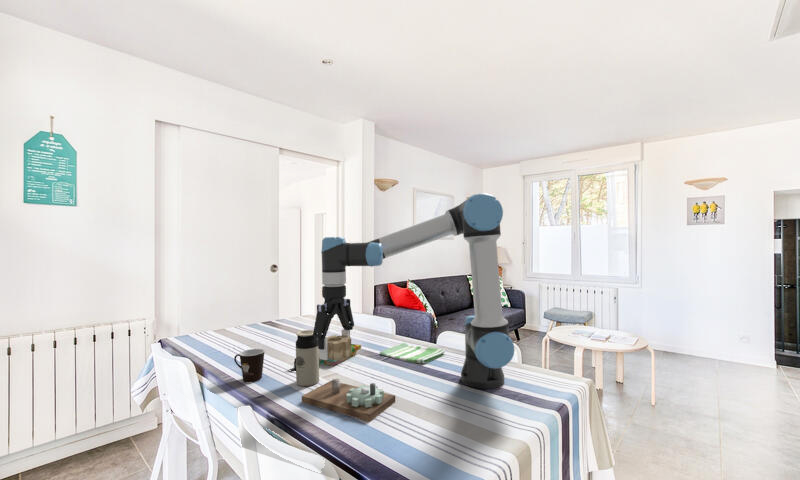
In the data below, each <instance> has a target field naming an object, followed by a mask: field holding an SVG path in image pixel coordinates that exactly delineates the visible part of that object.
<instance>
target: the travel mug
mask: <svg viewBox="0 0 800 480" xmlns="http://www.w3.org/2000/svg"><path fill="white" fill-rule="evenodd" d="M313 331H314V329H304V330H300V331H297V332H296V334H295V335H296V336H297V338H296V341H295V358H296V372H295V376H296V377H295V378H296V379H295V380H296V385H298V386H301V387H309V386H315V385H316V384H318V383H319V381H320V363H319V349H318V338H314V337H313Z"/></svg>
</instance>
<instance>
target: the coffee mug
mask: <svg viewBox="0 0 800 480" xmlns="http://www.w3.org/2000/svg"><path fill="white" fill-rule="evenodd" d="M237 357H239V360H240V364H239V363H238V361H237ZM264 359H265V349H263V348H250V349H245V350H243V351H240V352H239V353H238V354H236V355H234V358H233V360H234V363H235V365H236V366H237V367H238V368H239V369H241V375H242V376H241V377H242V381H243V383H246V382H252V383H256V382H259V381H261V380H262V379H263V371H264V370H263V369H264V362H265V361H264ZM261 378H262V379H261ZM260 379H261V380H260Z"/></svg>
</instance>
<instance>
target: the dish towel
mask: <svg viewBox="0 0 800 480" xmlns="http://www.w3.org/2000/svg"><path fill="white" fill-rule="evenodd" d="M379 355H380V356H384V357H388V358H392V359H395V360H400V361H404V362H408V363H413V364H414V363H415V364H423V365H425V364H427V363H430V362H432V361H434V360H436V359H438V358H441V357H443V356H445V355H446V354H445V350H444V349H441V348H436V347H435V348H434V347H428V346H427V347H425V346H419V345H417V346H414V345H410V344H408V343H406V342H401V343H400V344H398V345H395V346H392V347H390V348H386V349H384V350H381V351H380V352H379Z"/></svg>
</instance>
